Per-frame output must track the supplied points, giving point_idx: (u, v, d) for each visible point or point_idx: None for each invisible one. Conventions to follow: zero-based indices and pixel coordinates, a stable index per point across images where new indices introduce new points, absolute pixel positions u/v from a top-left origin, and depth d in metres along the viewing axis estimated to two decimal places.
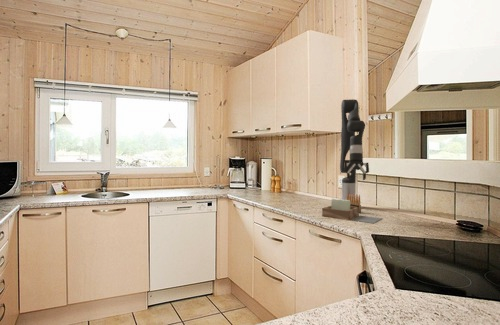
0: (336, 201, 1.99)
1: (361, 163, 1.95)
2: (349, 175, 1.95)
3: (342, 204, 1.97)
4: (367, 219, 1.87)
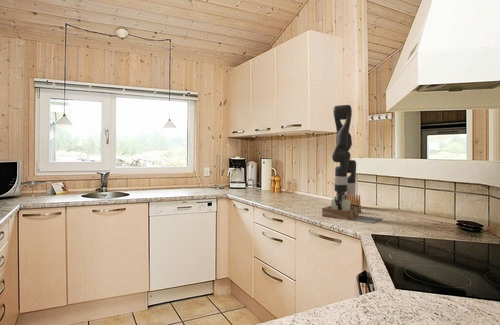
0: None
1: (344, 193, 2.00)
2: (341, 208, 1.97)
3: (342, 204, 1.97)
4: (367, 219, 1.87)
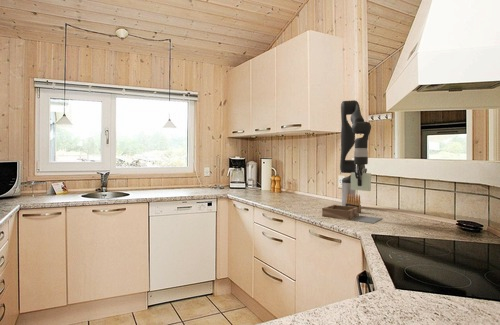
0: None
1: (364, 166, 1.91)
2: (361, 181, 1.88)
3: (362, 177, 1.88)
4: (367, 219, 1.87)
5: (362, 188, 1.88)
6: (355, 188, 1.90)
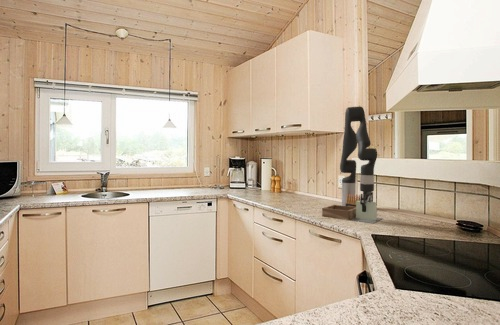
0: None
1: (370, 193, 1.89)
2: None
3: (368, 207, 1.87)
4: None
5: (368, 217, 1.87)
6: (361, 217, 1.89)
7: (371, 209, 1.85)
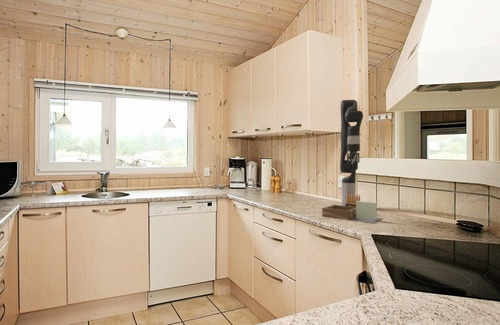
0: (361, 203, 1.89)
1: (356, 153, 2.01)
2: (352, 166, 1.96)
3: (368, 207, 1.87)
4: None
5: (368, 217, 1.87)
6: (361, 217, 1.89)
7: (371, 209, 1.85)
